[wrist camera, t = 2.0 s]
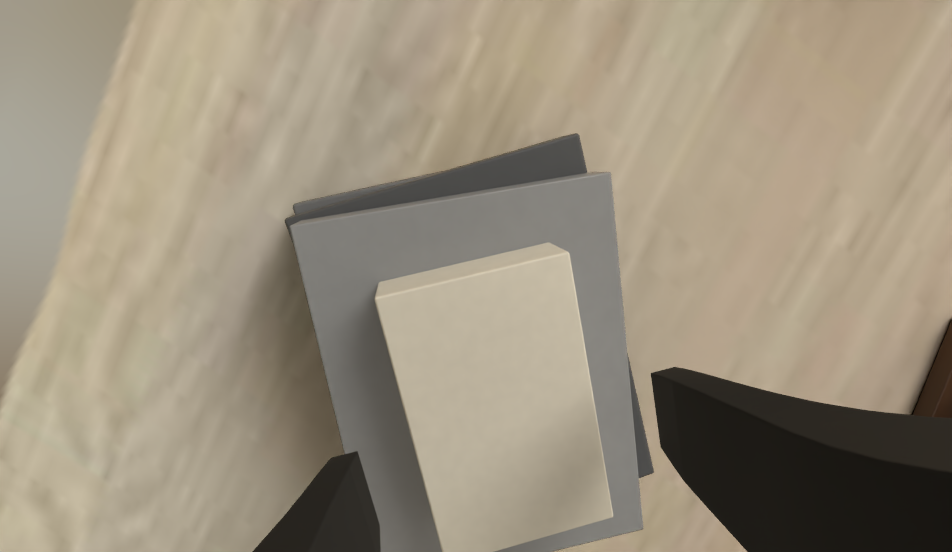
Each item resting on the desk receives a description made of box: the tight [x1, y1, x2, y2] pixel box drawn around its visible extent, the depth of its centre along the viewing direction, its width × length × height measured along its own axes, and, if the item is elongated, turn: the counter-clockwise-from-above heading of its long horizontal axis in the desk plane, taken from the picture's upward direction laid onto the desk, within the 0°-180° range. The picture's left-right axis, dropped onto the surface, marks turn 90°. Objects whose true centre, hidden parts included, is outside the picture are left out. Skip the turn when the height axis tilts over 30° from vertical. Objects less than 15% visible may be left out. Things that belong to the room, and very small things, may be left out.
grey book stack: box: [285, 133, 654, 552], centre depth 17 cm, size 13×10×4 cm
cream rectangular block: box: [375, 242, 613, 552], centre depth 14 cm, size 8×5×2 cm, turn 12°
